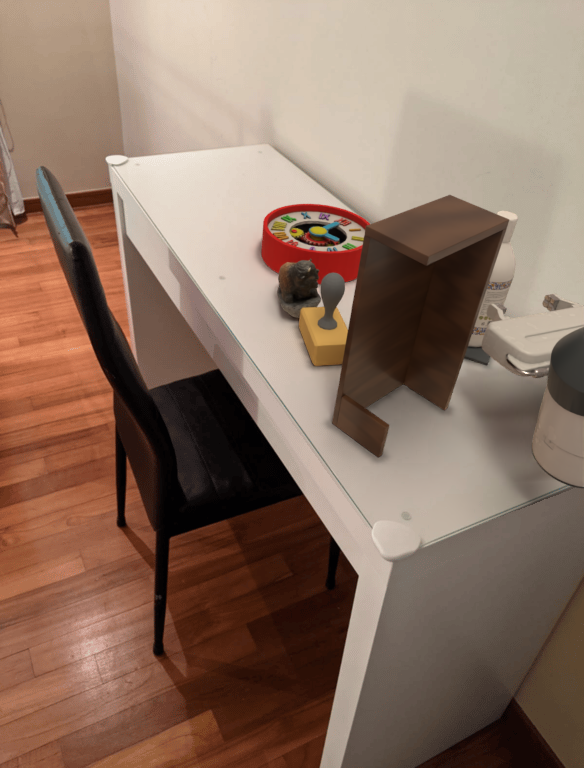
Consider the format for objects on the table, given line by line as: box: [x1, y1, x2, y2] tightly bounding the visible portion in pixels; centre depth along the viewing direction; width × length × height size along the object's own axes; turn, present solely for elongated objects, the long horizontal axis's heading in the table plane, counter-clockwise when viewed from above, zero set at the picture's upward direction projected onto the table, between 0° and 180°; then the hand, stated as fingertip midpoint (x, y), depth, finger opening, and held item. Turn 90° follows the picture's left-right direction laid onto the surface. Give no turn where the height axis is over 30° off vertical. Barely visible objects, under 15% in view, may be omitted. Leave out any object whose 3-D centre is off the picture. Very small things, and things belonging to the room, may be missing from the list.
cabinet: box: [331, 194, 509, 458], centre depth 71 cm, size 8×15×27 cm, turn 134°
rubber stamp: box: [298, 273, 348, 367], centre depth 87 cm, size 10×6×12 cm, turn 12°
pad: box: [464, 346, 491, 366], centre depth 95 cm, size 9×9×1 cm
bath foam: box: [468, 210, 519, 347], centre depth 89 cm, size 7×7×20 cm
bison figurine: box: [277, 259, 322, 318], centre depth 96 cm, size 12×7×10 cm, turn 8°
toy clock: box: [260, 203, 371, 285], centre depth 110 cm, size 20×6×20 cm
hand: (520, 303), depth 82 cm, fingers open, 8 cm apart
